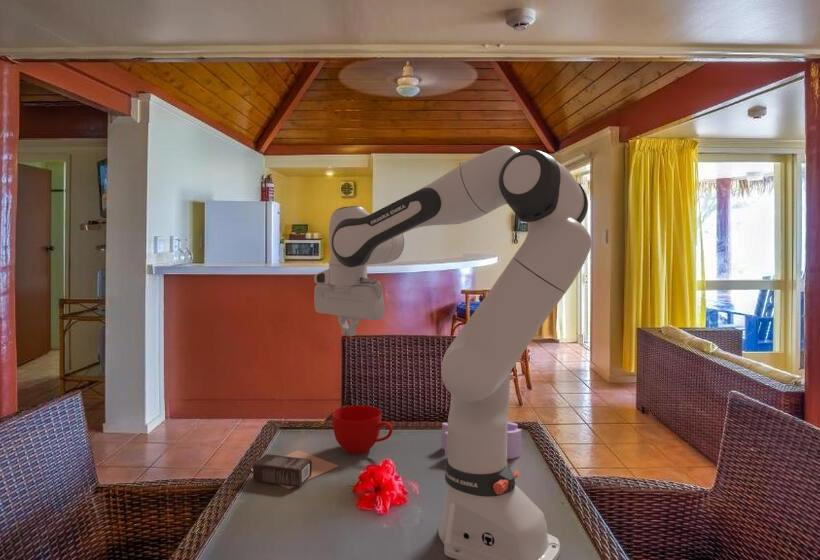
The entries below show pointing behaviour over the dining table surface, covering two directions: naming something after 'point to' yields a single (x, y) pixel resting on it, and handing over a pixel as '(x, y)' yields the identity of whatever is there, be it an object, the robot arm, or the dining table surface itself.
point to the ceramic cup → (358, 428)
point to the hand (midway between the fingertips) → (348, 335)
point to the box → (282, 470)
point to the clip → (512, 440)
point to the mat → (317, 465)
